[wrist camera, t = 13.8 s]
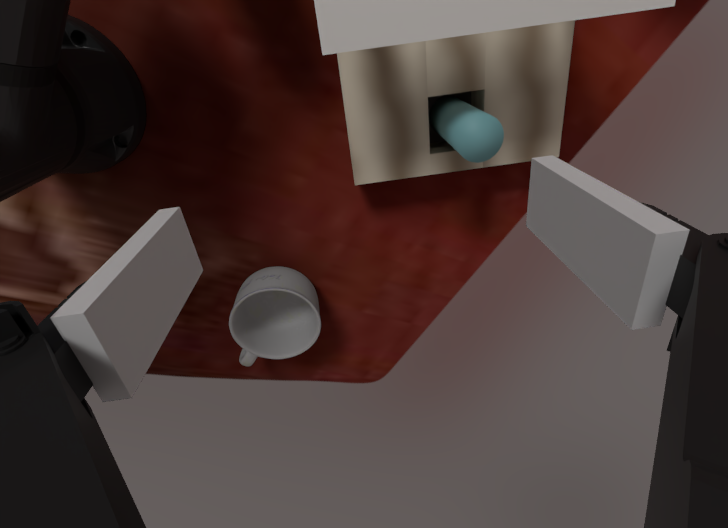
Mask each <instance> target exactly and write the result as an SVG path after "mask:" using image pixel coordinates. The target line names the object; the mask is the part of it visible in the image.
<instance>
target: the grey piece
mask: <svg viewBox="0 0 728 528" xmlns="http://www.w3.org/2000/svg"><path fill="white" fill-rule="evenodd" d="M675 2H676V0H314V3H315V10H316V16H317V23H318V29H319V36H320V43H321V49H322V55H328V54H335V53H342V52H349V51H357V50H364V49H371V48H378V47H385V46H393V45H400V44H407V43H414V42H421V41H428V40H436V39H443V38H450V37H457V36H464V35H471V34H479V33H486V32H493V31H500V30H507V29H515V28H522V27H529V26H536V25H543V24H550V23H558V22H565V21H572V20H579V19H586V18H594V17H601V16H608V15H615V14H622V13H629V12H637V11H644V10H651V9H658V8H665V7H672V6H675Z"/></svg>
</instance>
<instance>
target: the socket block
mask: <svg viewBox="0 0 728 528" xmlns="http://www.w3.org/2000/svg"><path fill="white" fill-rule="evenodd" d="M574 24H575V20H572V21H565V22H558V23H550V24H543V25H536V26H529V27H522V28H515V29H507V30H500V31H493V32H486V33H479V34H471V35H464V36H457V37H450V38H443V39H436V40H428V41H421V42H414V43H407V44H400V45H393V46H385V47H378V48H371V49H364V50H357V51H349V52H342V53H337V58H338V65H339V73H340V80H341V87H342V95H343V102H344V109H345V116H346V124H347V131H348V138H349V146H350V153H351V160H352V168H353V175H354V182H355V185H361V184H368V183H375V182H383V181H390V180H397V179H404V178H412V177H419V176H426V175H433V174H440V173H448V172H455V171H462V170H469V169H477V168H484V167H491V166H498V165H506V164H513V163H520V162H527V161H532V158H536V157H543V156H550V155H553V156H555V157H559V152H560V143H561V135H562V126H563V118H564V109H565V101H566V92H567V84H568V75H569V66H570V58H571V49H572V41H573V32H574ZM446 96H453V97H456V98H458V99H460V100H462V101H464V102H466V103H468V104H470V105H472V106H474V107H476V108H478V109H480V110H482V111H484V112H486V113H488V114H490V115H492V116H493V117H495V118H497V119H498V120H499V121H500V123H501V125H502V127H503V131H504V139H503V143H502V146H501V148H500V149H499V151H498V152H497V153H496V154H495V155H494V156H493V157H492V158H490V159H489V160H487V161H484V162H479V163H475V162H470V161H468V160H466V159H464V158H463V157H462V156H461V155H460V154H459V153H458V152H457V151H456V150H455V149H454V148H453V147H452V146H451V145H450V144H449V143H448V142H447V141H446V140H445V139H443V138H442V137H441V136H440V135H439V134H438V133H437V132H436V131H435V130H434V129H433V128H432V126H431V124H430V120H429V115H430V110H431V108H432V106H433V105H434V103H435V102H436V101H437V100H439V99H440V98H442V97H446Z"/></svg>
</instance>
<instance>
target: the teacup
mask: <svg viewBox="0 0 728 528" xmlns="http://www.w3.org/2000/svg"><path fill="white" fill-rule="evenodd" d="M229 328H230V332H231V335H232V337H233V338H234V340H235V341H236V342H237V343H238V344H239V345H240V346H241V347H242V348H243V349H242V352H241V354H240V358H239V362H240V363H241V364H242V365H244V366H251V365H252V364H253V363H254V362H255V360H256V358H257V356H259V357H263V358H269V359H285V358H290V357H294V356H297V355H299V354H301V353H303V352H304V351H306V350H308V349H309V348H310V347H311V346H312V345H313V344H314V343H315V341H316V340H317V338H318V336H319V334H320V330H321V319H320V315H319V302H318V296H317V293H316V290H315V288H314V286H313V284H312V283H311V282H310V280H309V279H308V278H307V277H306V276H304V275H303V274H302V273H300V272H298V271H296V270H294V269H291V268H287V267H280V266H275V267H267V268H264V269H261V270H259V271H257V272H255V273H253V274H252V275H251V276H249V277H248V278H247V279H246V280H245V282H244V283H243V284H242V286H241V288H240V290H239V292H238V294H237V297H236V300H235V303H234V307H233V309H232V311H231V313H230V318H229Z"/></svg>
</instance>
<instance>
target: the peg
mask: <svg viewBox="0 0 728 528" xmlns="http://www.w3.org/2000/svg"><path fill="white" fill-rule="evenodd" d="M429 120H430V124H431V126H432V128H433V129H434V130H435V131H436V132H437V133H438V134H439V135H440V136H441V137H442V138H443V139H445V140H446V141H447V142H448V143H449V144H450V145H451V146H452V147H453V148H454V149H455V150H456V151H457V152H458V153H459V154H460V155H461V156H462V157H463V158H464V159H466V160H468V161H470V162H475V163H479V162H484V161H487V160H489V159H490V158H492V157H493V156H494V155H495V154H496V153H497V152H498V151H499V149H500V148H501V146H502V143H503V139H504V131H503V127H502V125H501V123H500V121H499V120H498V119H497V118H495V117H493V116H492V115H490V114H488V113H486V112H484V111H482V110H480V109H478V108H476V107H474V106H472V105H470V104H468V103H466V102H464V101H462V100H460V99H458V98H456V97H453V96H446V97H442V98H440V99H439V100H437V101H436V102H435V103H434V105H433V106H432V108H431V110H430V115H429Z"/></svg>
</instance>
